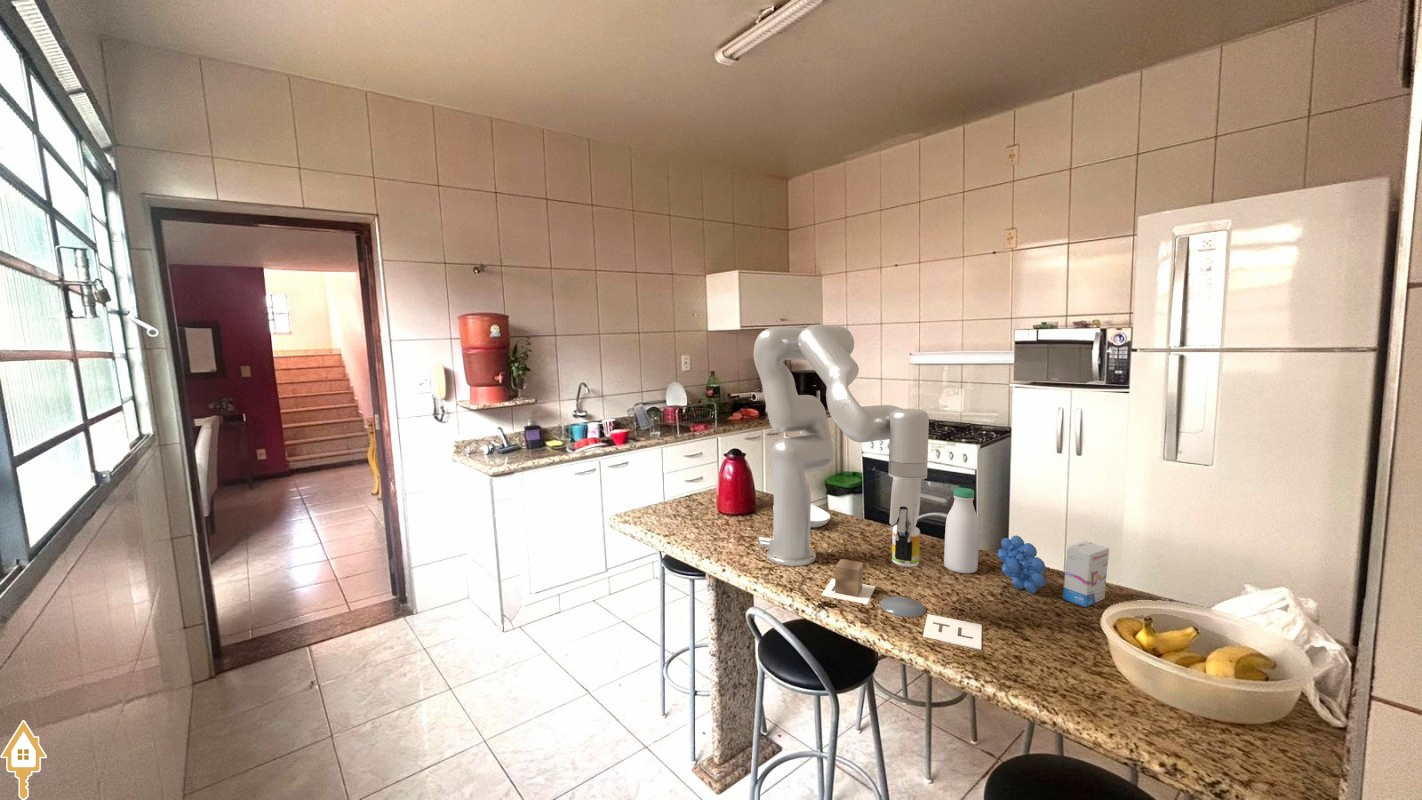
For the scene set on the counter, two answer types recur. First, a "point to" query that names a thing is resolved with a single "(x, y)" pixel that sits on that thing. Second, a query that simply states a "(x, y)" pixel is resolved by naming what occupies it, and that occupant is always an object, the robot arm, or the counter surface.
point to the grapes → (1022, 564)
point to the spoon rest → (817, 516)
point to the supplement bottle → (915, 547)
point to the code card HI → (862, 597)
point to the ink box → (1085, 573)
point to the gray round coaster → (903, 606)
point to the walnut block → (848, 577)
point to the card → (953, 631)
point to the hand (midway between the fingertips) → (905, 553)
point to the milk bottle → (962, 534)
